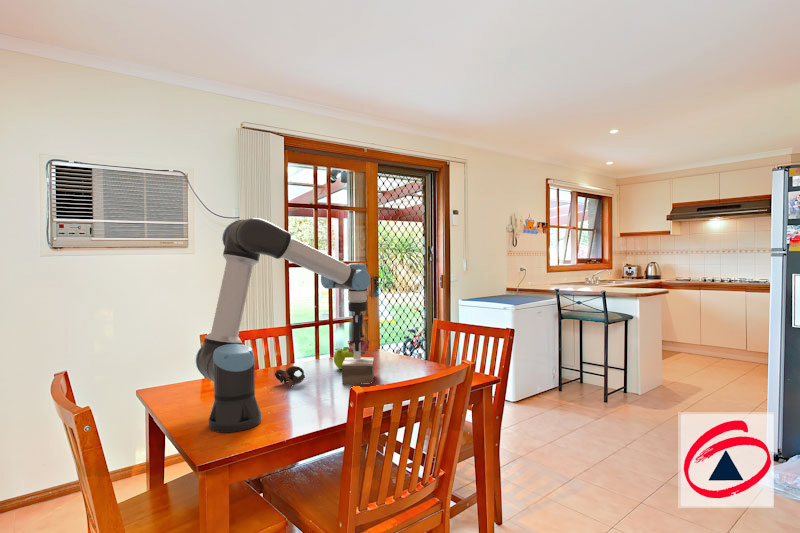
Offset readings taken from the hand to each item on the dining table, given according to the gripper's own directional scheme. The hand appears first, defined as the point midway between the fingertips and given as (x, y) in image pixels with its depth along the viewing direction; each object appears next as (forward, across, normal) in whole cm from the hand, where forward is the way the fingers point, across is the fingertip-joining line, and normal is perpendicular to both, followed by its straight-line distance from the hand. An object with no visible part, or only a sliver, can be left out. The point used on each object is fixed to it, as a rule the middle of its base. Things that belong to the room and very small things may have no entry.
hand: (358, 356), depth 185 cm
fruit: (+10, +18, +8) cm, 22 cm away
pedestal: (+10, 0, 0) cm, 10 cm away
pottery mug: (+10, -5, +27) cm, 29 cm away
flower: (0, 0, 0) cm, 0 cm away
